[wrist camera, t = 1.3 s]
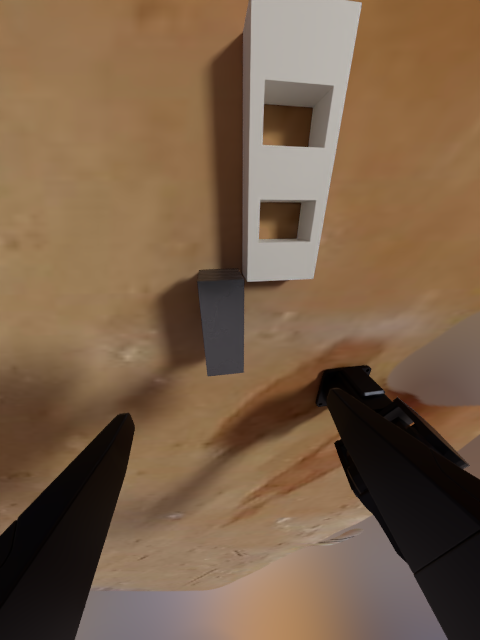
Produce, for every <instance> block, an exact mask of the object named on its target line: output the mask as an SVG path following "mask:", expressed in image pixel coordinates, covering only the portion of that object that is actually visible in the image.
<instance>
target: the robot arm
mask: <svg viewBox="0 0 480 640" xmlns="http://www.w3.org/2000/svg"><path fill="white" fill-rule="evenodd" d="M370 372H371V368H370V367H369V366H367V365H366V366H357V367H348V368H339V369H330V370H326V371H324V373H323V376H322V380H321V384H320V387H319V391H318V395H317V399H316V405H317V406H318V407H321V406H328V409H329V411H330V413H331V416H332V418H333V420H334V423H335V425H336V428H337V430H338V432H339V435H340V437H341V439H340V440H337V441H336V442H335V443H334V444H335V447H336V449H337V453H338V456H339V458H340V461H341V463H342V466H343V468H344V471H345V474H346V476H347V479H348V481H349V484H350V487H351V489H352V490H353V492H354V494H355V495H356V497H358V498H359V499H360V501H361V502H362V503H363V505H364V506H365V507H366V508H367V509H368V510H369V511H370V512H371V513H372V514H373V515H374V516H375V518H376V519H377V520H378V522H379V524H380V525H381V527H382V528H383V530H384V532H385V533H386V535H387V537H388V538H389V540H390V542H391V544H392V545H393V547H394V549H395V551H396V552H397V554H398V555H399V556H400V557H401V558H402V559H403V560H404V561H405V562H407V563H408V565H409V567H410V569H411V571H412V572H413V573H414V577H415V578H416V580H417V582H418V584H419V586H420V588H421V590H422V591H423V593H424V595H425V597H426V599H427V601H428V603H429V605H430V606H431V608H432V610H433V612H434V614H435V616H436V618H437V620H438V621H439V623H440V625H441V627H442V629H443V631H444V633H445V635H446V637H447V638H448V640H480V479H478V478H476V477H475V476H473V475H471V474H470V473H468V472H467V471H464V470H463V469H464V468H466V467H468V466H470V465H469V464H468V463H467V462H466V461H465V460H464V459H463V458H462V457H461V456H460V455H459V454H458V453H457V452H456V450H455V449H454V448H453V447H452V446H451V445H450V444H449V443H448V442H447V441H446V440H445V439H444V438H443V437H442V436H441V435H440V434H439V433H438V432H437V431H436V430H435V429H434V428H433V427H432V426H431V425H430V424H429V423H427V422H426V421H425V420H424V419H423V418H422V417H421V416H420V415H419V414H418V413H417V412H415V411H414V410H413V409H412V408H410V407H409V406H408V405H407V404H405V403H404V402H403V401H401V400H400V399H399V398H398V397H397V398H396V399H394V400H393V402H392V401H391V400H390V399H389V398H388V397H387V396H386V395H385V394H384V393H385V391H384V390H383V389H382V388H381V387H380V386H379V385H378V384H377V383H376V382H375V381H374V380H373V379H372V378H371V377H370V376H369V374H370ZM413 422H414V423H415V424H413V425H412V426H410V424H411V423H413ZM134 431H135V425H134V422H133V420H132V417H131V415H130V414H129V413H123V414H118V415H117V416H116V417H115V418H114V419H113V420H112V421H111V422H110V423H109V424H108V425H107V426H106V427H105V428H104V429H103V430H102V431H101V432H100V433H99V434H98V435H97V436H96V438H95V439H94V440H93V441H92V442H91V443H90V444H89V445H88V446H87V447H86V448H85V449H84V450H83V451H82V452H81V453H80V454H79V455H78V456H77V457H76V458H75V459H74V460H73V461H72V462H71V463H70V464H69V465H68V466H67V467H66V468H65V470H64V471H63V472H62V473H61V474H60V475H59V476H58V477H57V478H56V479H55V480H54V481H53V482H52V483H51V484H50V485H49V486H48V487H47V488H46V489H45V490H44V491H43V492H42V493H41V494H40V495H39V496H38V497H37V498H36V499H35V500H34V502H33V503H32V504H31V505H30V506H29V507H28V508H27V509H26V510H25V511H24V512H23V513H22V514H21V515H20V516H19V517H18V519H17V520H15V521H14V522H13V523H12V524H11V525H10V526H9V527H8V528H7V529H6V530H5V531H4V532H3V533H2V534H1V535H0V640H75V636H76V634H77V630H78V627H79V624H80V620H81V617H82V614H83V611H84V608H85V604H86V601H87V598H88V595H89V591H90V588H91V585H92V581H93V578H94V575H95V572H96V568H97V565H98V562H99V559H100V555H101V552H102V549H103V546H104V542H105V539H106V536H107V533H108V529H109V526H110V523H111V520H112V516H113V513H114V510H115V507H116V503H117V500H118V497H119V493H120V490H121V487H122V484H123V480H124V477H125V473H126V470H127V465H128V460H129V455H130V450H131V446H132V441H133V436H134Z"/></svg>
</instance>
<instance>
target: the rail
mask: <svg viewBox="0 0 480 640" xmlns="http://www.w3.org/2000/svg"><path fill="white" fill-rule="evenodd" d="M361 5H362V3H360V2H354V1H347V0H249V3H248V8H247V13H246V19H245V24H244V29H243V242H242V274H243V276H244V277H245V279H246V281H247V282H254V281H276V280H297V279H313V278H314V272H315V266H316V261H317V255H318V249H319V244H320V238H321V232H322V227H323V221H324V215H325V210H326V204H327V198H328V193H329V187H330V181H331V175H332V170H333V164H334V158H335V153H336V147H337V141H338V136H339V130H340V124H341V119H342V113H343V107H344V102H345V96H346V90H347V85H348V79H349V73H350V68H351V62H352V56H353V51H354V45H355V39H356V34H357V28H358V22H359V17H360V11H361ZM264 104H271V105H285V106H299V107H313V112H312V120H311V128H310V136H309V144H308V147H294V146H271V145H262V142H263V116H264ZM260 202H301V209H300V217H299V225H298V233H297V239H259V219H260Z"/></svg>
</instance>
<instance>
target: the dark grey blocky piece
mask: <svg viewBox="0 0 480 640" xmlns="http://www.w3.org/2000/svg"><path fill="white" fill-rule="evenodd" d="M197 283H198V292H199V302H200V311H201V320H202V329H203V339H204V348H205V357H206V366H207V375H208V376H215V375H225V374H234V373H244V278H243V276H242V275H241V273H240V271H239V270H238V269H209V270H199V274H198V280H197Z"/></svg>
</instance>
